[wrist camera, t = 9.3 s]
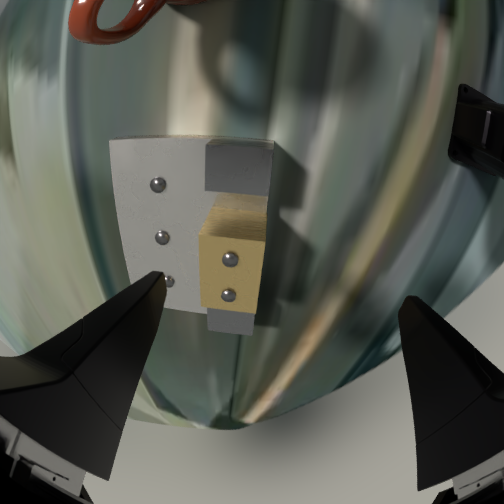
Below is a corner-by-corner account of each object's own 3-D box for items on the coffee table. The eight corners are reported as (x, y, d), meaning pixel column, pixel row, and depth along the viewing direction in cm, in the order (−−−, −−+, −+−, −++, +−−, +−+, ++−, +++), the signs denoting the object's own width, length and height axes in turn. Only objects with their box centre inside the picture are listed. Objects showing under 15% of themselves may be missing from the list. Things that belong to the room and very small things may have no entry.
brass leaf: (267, 213, 19) (265, 243, 16) (258, 278, 23) (255, 315, 19) (211, 207, 20) (197, 236, 16) (211, 273, 23) (200, 308, 19)
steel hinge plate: (273, 140, 18) (273, 149, 15) (254, 310, 26) (252, 335, 24) (117, 137, 18) (94, 146, 15) (139, 294, 27) (128, 316, 24)
